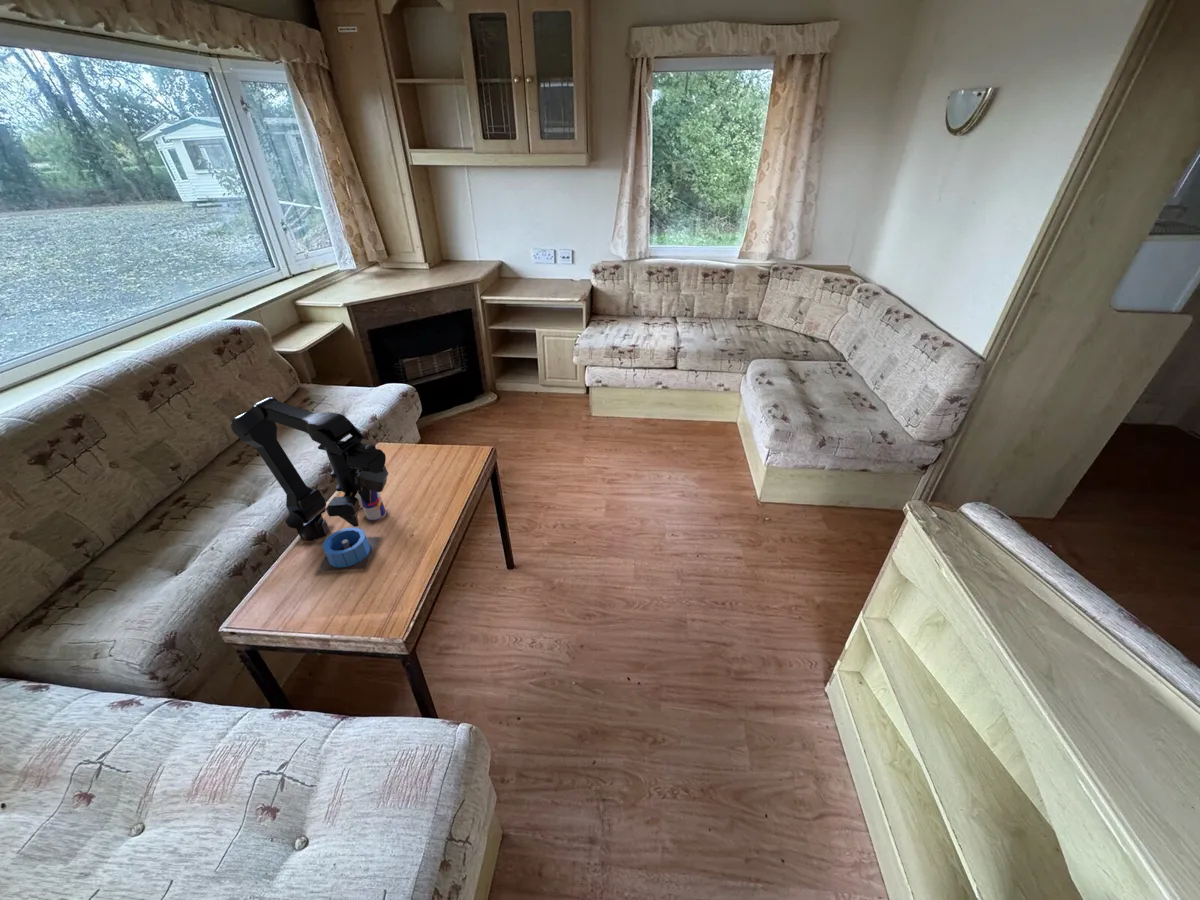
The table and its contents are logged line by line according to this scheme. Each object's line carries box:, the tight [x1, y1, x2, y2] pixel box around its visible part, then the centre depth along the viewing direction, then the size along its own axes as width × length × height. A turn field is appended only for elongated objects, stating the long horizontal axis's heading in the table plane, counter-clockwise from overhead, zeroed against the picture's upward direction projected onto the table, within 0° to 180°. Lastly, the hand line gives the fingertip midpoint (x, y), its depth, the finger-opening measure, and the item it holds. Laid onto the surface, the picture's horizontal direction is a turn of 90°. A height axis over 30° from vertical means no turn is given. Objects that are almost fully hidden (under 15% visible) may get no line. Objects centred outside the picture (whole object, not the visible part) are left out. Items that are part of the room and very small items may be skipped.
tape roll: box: [322, 526, 370, 568], centre depth 128 cm, size 10×10×5 cm
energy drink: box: [358, 490, 387, 522], centre depth 140 cm, size 5×5×12 cm
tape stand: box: [317, 536, 380, 573], centre depth 128 cm, size 12×12×5 cm
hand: (362, 514), depth 124 cm, fingers open, 9 cm apart
